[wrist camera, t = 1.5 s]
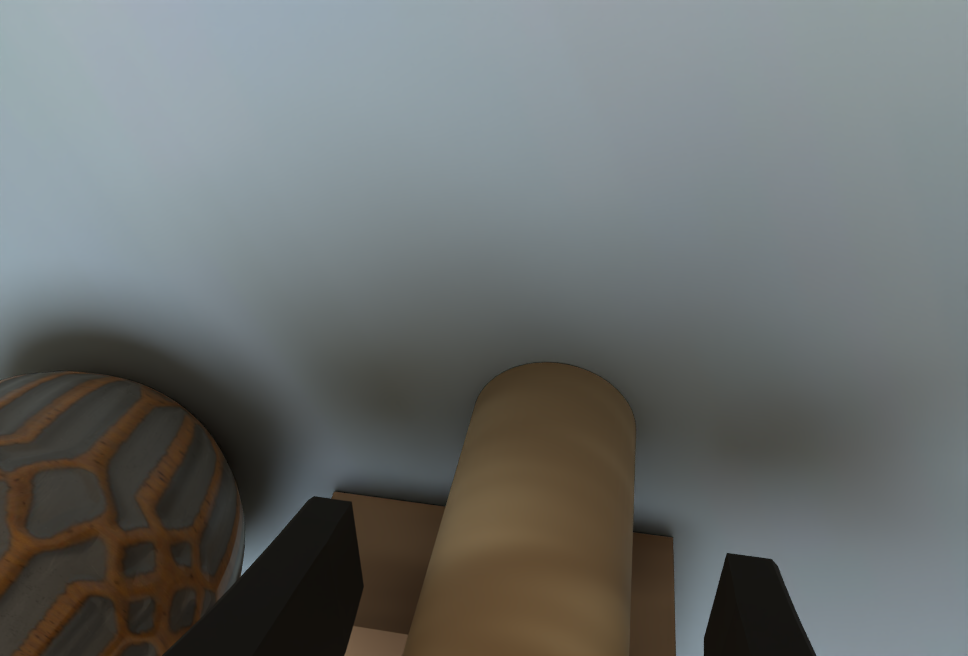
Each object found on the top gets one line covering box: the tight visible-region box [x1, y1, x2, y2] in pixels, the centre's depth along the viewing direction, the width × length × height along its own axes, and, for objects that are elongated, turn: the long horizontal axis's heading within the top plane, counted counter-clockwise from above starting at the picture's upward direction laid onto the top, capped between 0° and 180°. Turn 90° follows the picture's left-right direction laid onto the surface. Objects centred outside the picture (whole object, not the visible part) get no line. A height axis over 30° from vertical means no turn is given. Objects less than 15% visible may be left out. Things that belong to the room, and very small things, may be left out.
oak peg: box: [402, 362, 636, 656], centre depth 11 cm, size 3×3×8 cm
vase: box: [0, 371, 245, 656], centre depth 13 cm, size 7×7×9 cm
